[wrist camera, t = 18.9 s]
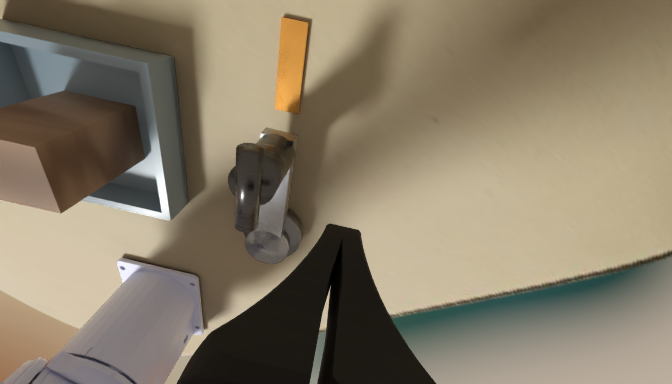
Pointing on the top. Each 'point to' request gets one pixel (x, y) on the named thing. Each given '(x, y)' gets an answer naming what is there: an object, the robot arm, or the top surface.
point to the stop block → (65, 148)
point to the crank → (264, 193)
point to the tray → (111, 84)
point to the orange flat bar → (291, 95)
